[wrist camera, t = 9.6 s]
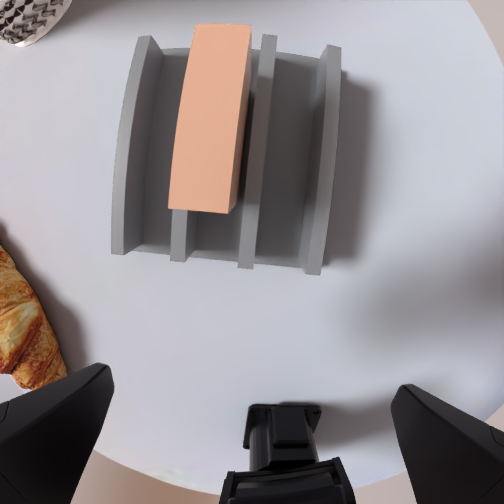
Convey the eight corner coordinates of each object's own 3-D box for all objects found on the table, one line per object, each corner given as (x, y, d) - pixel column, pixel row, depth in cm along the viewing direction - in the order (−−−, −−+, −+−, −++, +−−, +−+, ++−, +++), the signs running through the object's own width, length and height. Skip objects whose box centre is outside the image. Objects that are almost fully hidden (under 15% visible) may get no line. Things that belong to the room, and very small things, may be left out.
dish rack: (315, 265, 19) (330, 285, 15) (128, 246, 18) (101, 261, 14) (334, 68, 16) (352, 44, 12) (150, 56, 15) (130, 32, 11)
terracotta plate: (238, 201, 17) (227, 213, 9) (205, 198, 17) (167, 208, 9) (251, 91, 15) (251, 25, 7) (218, 89, 15) (196, 23, 7)
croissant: (-2, 224, 21) (-54, 249, 15) (7, 189, 16) (-66, 219, 9) (76, 387, 25) (32, 421, 19) (111, 406, 20) (54, 454, 13)
